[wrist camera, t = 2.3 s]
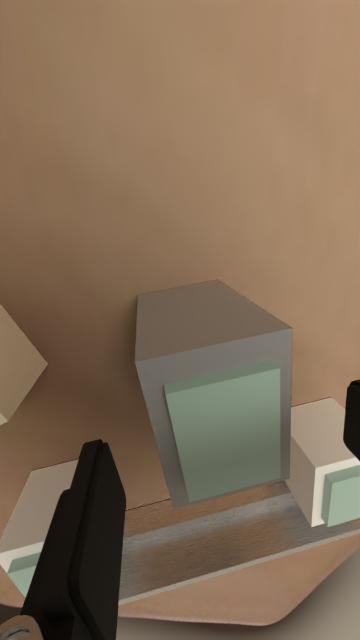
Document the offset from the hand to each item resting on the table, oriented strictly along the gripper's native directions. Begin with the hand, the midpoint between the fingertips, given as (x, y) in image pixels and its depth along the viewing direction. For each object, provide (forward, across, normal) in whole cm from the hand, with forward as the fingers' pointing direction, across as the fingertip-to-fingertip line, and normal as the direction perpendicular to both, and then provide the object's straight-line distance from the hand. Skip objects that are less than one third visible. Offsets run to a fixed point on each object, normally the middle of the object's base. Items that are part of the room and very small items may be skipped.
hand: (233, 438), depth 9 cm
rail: (+8, +1, +15) cm, 17 cm away
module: (+8, 0, -1) cm, 8 cm away
